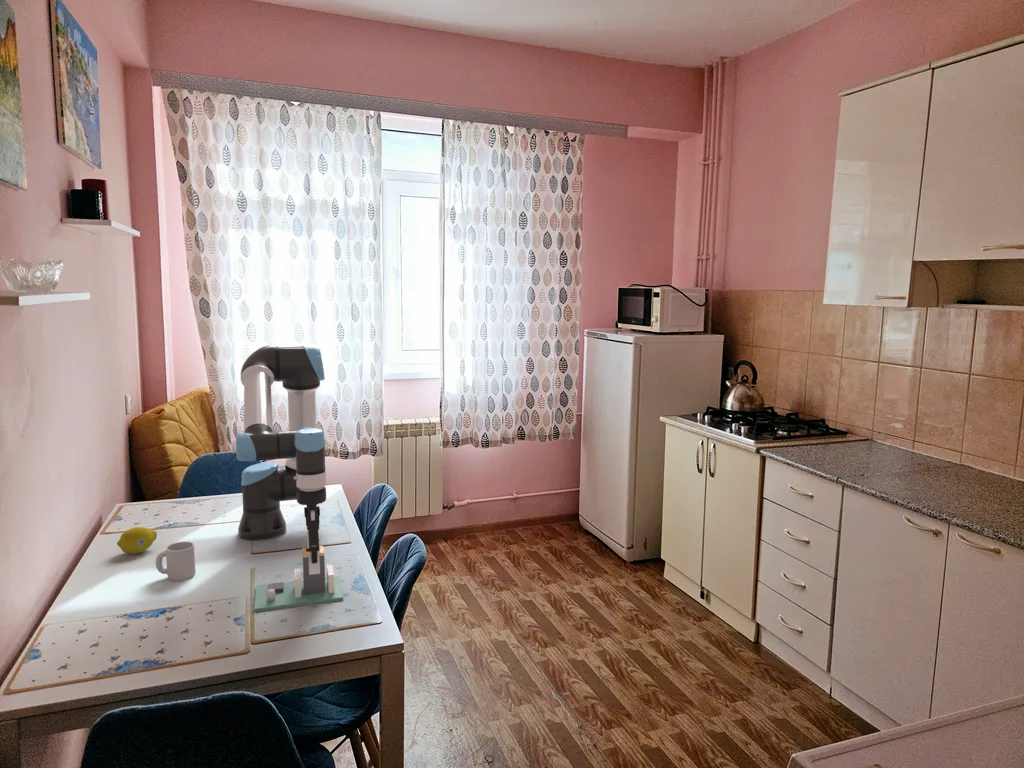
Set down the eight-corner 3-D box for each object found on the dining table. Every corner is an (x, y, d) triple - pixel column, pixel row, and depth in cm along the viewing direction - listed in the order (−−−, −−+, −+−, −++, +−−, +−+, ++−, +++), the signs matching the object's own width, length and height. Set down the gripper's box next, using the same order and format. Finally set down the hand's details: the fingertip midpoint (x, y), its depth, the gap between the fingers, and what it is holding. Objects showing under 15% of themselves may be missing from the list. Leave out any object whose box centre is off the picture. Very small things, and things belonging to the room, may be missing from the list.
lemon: (118, 560, 199) (116, 534, 198) (117, 551, 206) (115, 527, 205) (158, 553, 205) (157, 528, 204) (157, 545, 211) (155, 521, 210)
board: (256, 588, 181) (255, 568, 180) (339, 578, 188) (338, 558, 187) (254, 611, 168) (253, 590, 167) (343, 600, 175) (342, 579, 174)
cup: (194, 579, 186) (192, 549, 185) (154, 584, 183) (152, 553, 182) (197, 569, 193) (195, 540, 192) (158, 574, 190) (156, 544, 189)
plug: (303, 586, 180) (302, 547, 179) (324, 583, 182) (323, 545, 181) (304, 594, 176) (302, 554, 174) (325, 591, 178) (324, 552, 176)
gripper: (295, 475, 186) (298, 547, 189) (297, 503, 162) (299, 584, 165) (323, 473, 188) (325, 544, 191) (328, 500, 165) (330, 580, 168)
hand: (313, 563), depth 178 cm, fingers open, 13 cm apart
